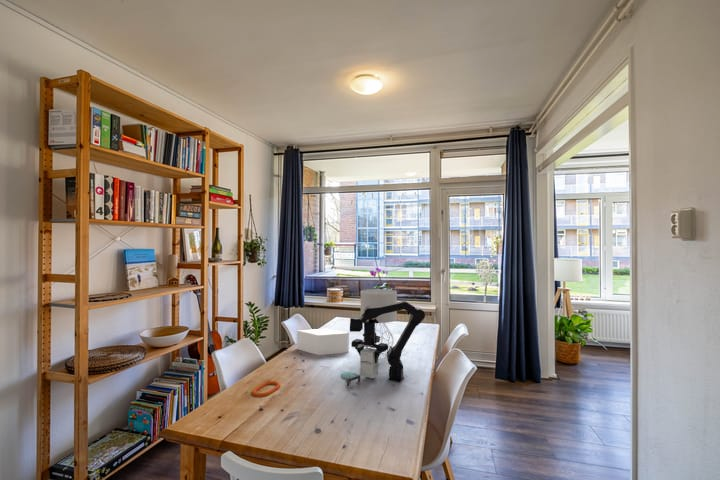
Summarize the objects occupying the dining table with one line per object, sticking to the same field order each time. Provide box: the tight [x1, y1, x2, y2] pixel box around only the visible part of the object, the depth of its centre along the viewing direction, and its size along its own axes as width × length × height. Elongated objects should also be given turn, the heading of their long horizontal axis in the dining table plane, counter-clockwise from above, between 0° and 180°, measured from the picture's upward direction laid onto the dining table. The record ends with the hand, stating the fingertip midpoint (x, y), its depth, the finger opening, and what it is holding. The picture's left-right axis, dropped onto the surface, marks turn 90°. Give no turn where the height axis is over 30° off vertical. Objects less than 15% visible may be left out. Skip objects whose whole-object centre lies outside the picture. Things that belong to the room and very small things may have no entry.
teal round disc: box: [340, 371, 358, 380], centre depth 170 cm, size 9×9×1 cm
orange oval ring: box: [251, 380, 281, 398], centre depth 154 cm, size 10×2×15 cm
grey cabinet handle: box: [345, 373, 362, 389], centre depth 160 cm, size 8×9×4 cm
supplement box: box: [359, 347, 379, 379], centre depth 166 cm, size 7×7×13 cm
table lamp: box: [360, 288, 398, 360], centre depth 201 cm, size 22×22×40 cm
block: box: [296, 327, 350, 356], centre depth 211 cm, size 18×35×12 cm, turn 80°
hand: (369, 361), depth 166 cm, fingers closed on supplement box, 7 cm apart
